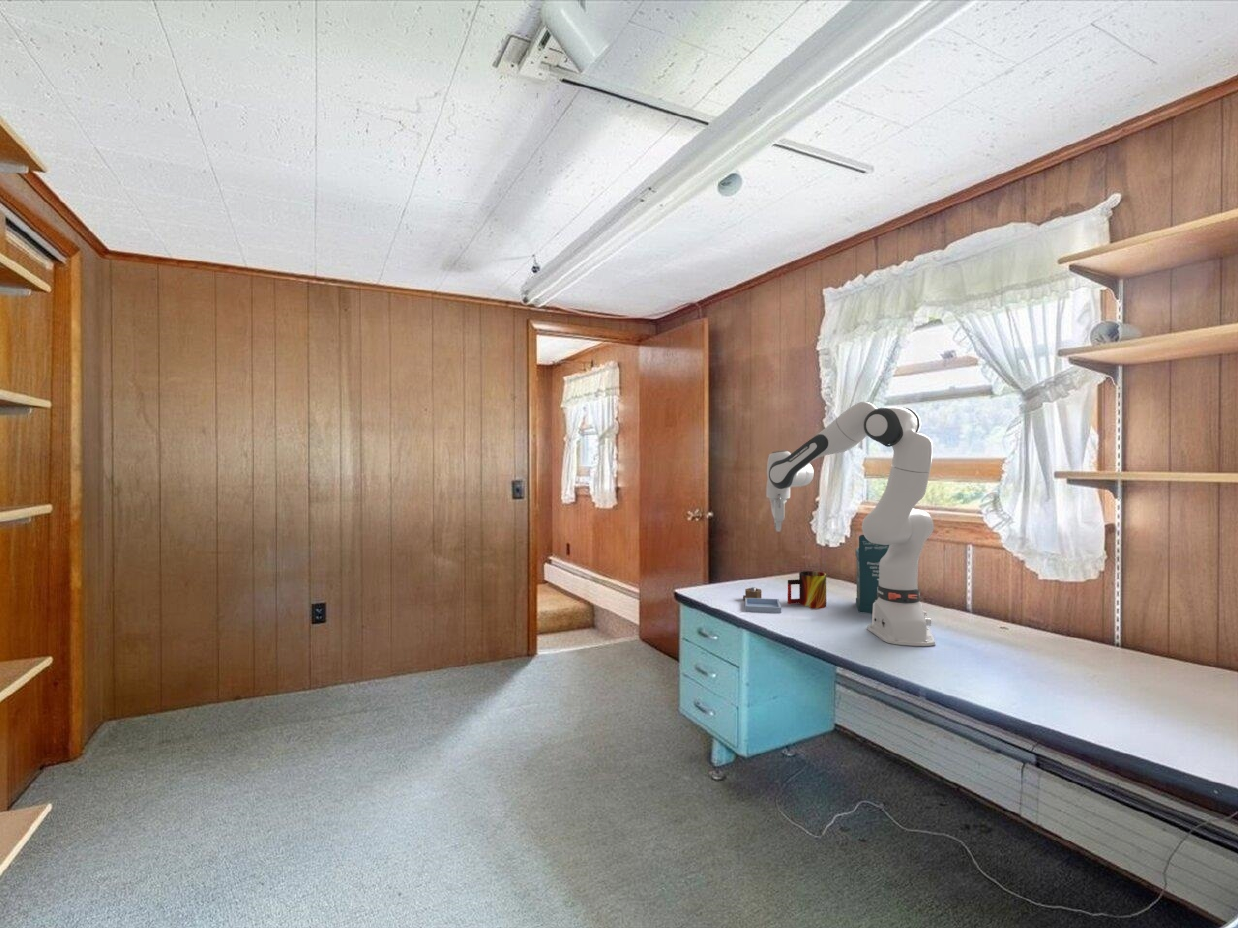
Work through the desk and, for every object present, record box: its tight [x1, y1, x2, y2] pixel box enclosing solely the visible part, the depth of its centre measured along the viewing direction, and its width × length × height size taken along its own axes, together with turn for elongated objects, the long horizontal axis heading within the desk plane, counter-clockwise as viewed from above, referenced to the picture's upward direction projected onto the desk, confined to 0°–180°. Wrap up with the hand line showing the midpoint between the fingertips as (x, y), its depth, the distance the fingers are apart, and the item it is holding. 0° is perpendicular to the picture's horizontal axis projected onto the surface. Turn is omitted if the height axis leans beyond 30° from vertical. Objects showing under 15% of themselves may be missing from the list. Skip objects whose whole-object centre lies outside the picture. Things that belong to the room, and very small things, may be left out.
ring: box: [742, 587, 762, 601], centre depth 224 cm, size 6×7×4 cm
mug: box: [787, 570, 827, 609], centre depth 217 cm, size 10×14×12 cm
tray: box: [744, 597, 782, 614], centre depth 213 cm, size 12×12×2 cm
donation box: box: [855, 534, 889, 614], centre depth 213 cm, size 16×16×28 cm
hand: (777, 529), depth 221 cm, fingers open, 8 cm apart
